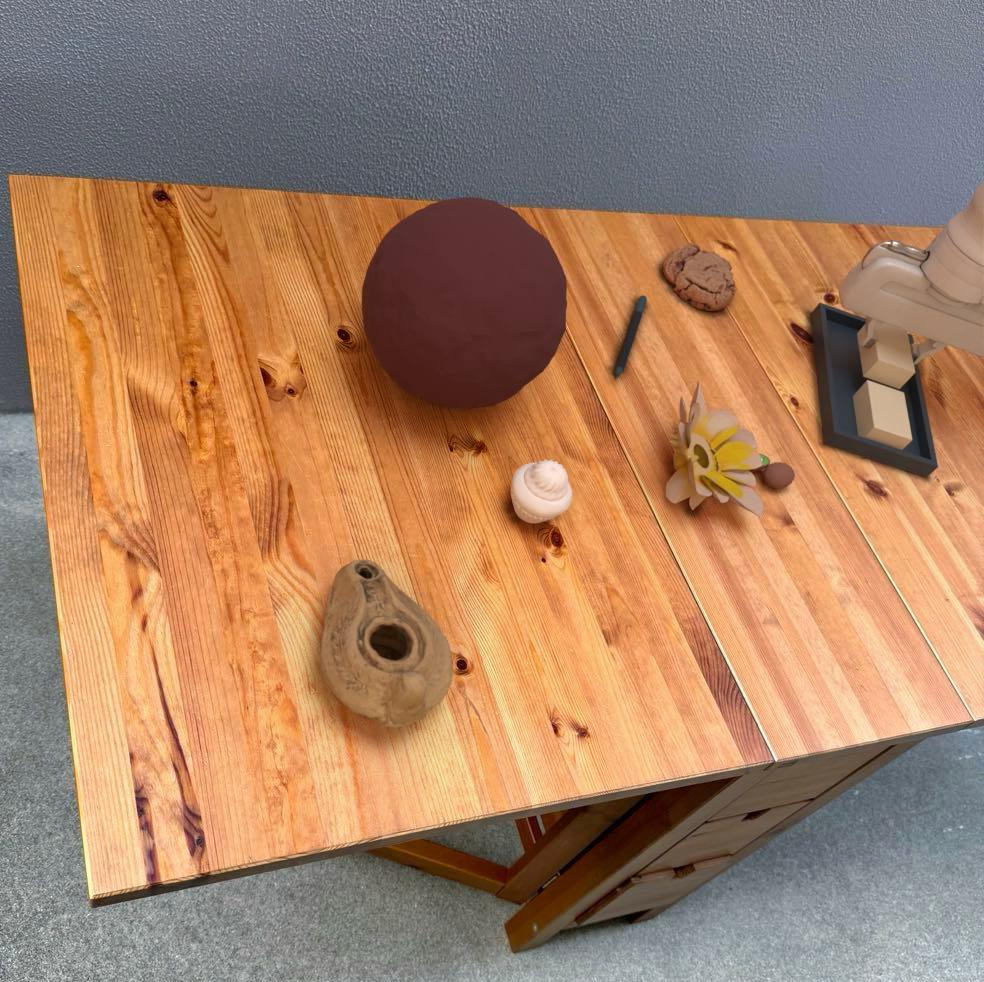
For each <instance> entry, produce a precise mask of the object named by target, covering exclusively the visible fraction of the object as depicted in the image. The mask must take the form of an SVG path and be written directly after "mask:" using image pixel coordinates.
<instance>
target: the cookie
mask: <svg viewBox="0 0 984 982" xmlns="http://www.w3.org/2000/svg"><path fill="white" fill-rule="evenodd" d="M662 266H663V267H662V273H663V276H664V278H665V280H667V281H669V282H670V283H671V285H673V286H674V288H673V289H672V290H673V291H674V292H675V293H676V294H677V296H678V297H679V298H680V299H681V300H682V301H684V302H686V303H687V304H690V305H691V306H692V307H694V308H696V309H698V310H705V311H706V312H713V311H714V312H715V311H720V310H724V309H726V308H727V306H728V305H729V304H730V303H731V301H732V300H733V299H734V297H735V294H736V292H737V287H736V282H735V280H734V278H733V277H734V274H733V273H732V269H733V266H732V264H731V262H730V261H729V260H728V259H726V258H725V257H722V256H720V255H719V254H718V253H717V252H714V251H708V250H705V249H702V251H701V247H700V246H699V245H698V244H696V243H695V242H694V243H693V242H689V243H686V244H685V243H684V245H682V246H681V247H679V248H677V249H676V250H675V251H674V252H673V253H671V254H670V255H669V256H667V258H665V260H664V261H663V264H662Z"/></svg>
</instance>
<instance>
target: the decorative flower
mask: <svg viewBox="0 0 984 982" xmlns="http://www.w3.org/2000/svg"><path fill="white" fill-rule="evenodd" d="M678 411H679V412H678V413H679V421H678V428H675V429H674V430H675V432H676V433H670V434H669V435H670V436H671V438H672V439H673V440H669V443H670V444H671V445H673V446H675V447H673V448H672V450H673V451H674V454H673V459H672V462H673V464H672V465H673V469H674V470H675V472H674V473H673V475H671V477H669V480H668V481H667V482H666V486H665V497H666V499H667V500H668V501H669V502H670V503H673V504H677V503H680V502H682V501H684V500H687V499H689V503H688V505H689V506H690V509H691V510H692V511H694V510H695V509H696V508H697V507H698V506H699V505H700V504H701V503H702V502H703V501H704V500H705V499H706V498H707V497H711V496H713V497H714V498H715V499H717V500H718V502H720V503H721V504H725V503H726V502H729V500H730V501H731V502H733V503H734V504H735V505H738V506H739V507H741V509H744V510H746V511H748V512H749V513H752V514H754V515H756V516H759V517H762V516H764V511H765V504H764V502H763V499H762V497H761V496H760V495H759V494H758V493H757V492H756V491H755V490H754V489H752V488H751V487H754V486H755V485H756V484H757V480H756V477H755V475H754V474H753V473H752V471H751V470H750V469H756V468H758V467H760V466H762V458H761V456H760V454H761V453H760V452H759V451H758V449H757V447H758V444H757V441H756V438H755V436H754V433H753V432H752V431H750V430H749V429H748V428H745V427H742V426H739V425H740V421H739V420H738V418H737V417H736V416H737V415H735V413H733V412H732V411H731V410H729V409H727V408H724V407H723V408H722V407H721V408H713V409H712V410H708V406H707V403H706V401H705V397H704V394H703V390H702V385H701V383H700V380H697V383H696V387H695V390H694V393H693V395H692V399H691V402H690V406H689V411H688V418H687V410H686V403H685V400H684V397H683V395H680V398H679V410H678ZM759 453H760V454H759ZM749 486H751V487H749Z"/></svg>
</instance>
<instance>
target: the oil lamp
mask: <svg viewBox="0 0 984 982" xmlns="http://www.w3.org/2000/svg"><path fill="white" fill-rule="evenodd" d="M319 642H320V643H319V649H318V662H319V663H318V664H319V667H320V670H321V673H322V676H323V678H324V679H325V681H326V683H327V686H328V687H329V689H330V690H331V692H332V693H333V695H334V696H335V697H336V698H337V700H339V701H340V703H342V704H343V705H344V706H345V707H346V708H347V709H348V710H350V712H352V713H354V714H358V715H362V716H364V717H366V718H369V719H371V720H374V721H376V722H377V723H379V724H381V725H382V726H383V727H385V728H388V729H398V728H399V729H400V728H405V727H408V726H411V725H412V724H414V723H417V722H418V721H421V720H424V719H425V718H426V714H427V713H428V712H430V711H431V710H433V709H434V708H435V707H436V706H438V705H439V704H440V703H441V702H442V701H443V700H444V699H445V697H446V695H447V693H448V691H449V689H450V687H451V684H452V682H453V678H454V677H453V676H454V670H453V658H452V652H451V646H450V644H449V640H448V639H447V636H445V634H444V632H443V630H442V629H441V626H439V624H438V623H437V622H436V620H435V619H434V618H433V617H432V616H431V615H430V614H429V613H428V612H427V611H426V610H425V609H423V608H422V606H421V605H419V603H417V602H416V601H415V600H414V598H412V597H410V596H409V595H408V594H407V593H406V592H404V591H403V590H402V589H401V588H400V587H399V586H398V585H397V584H395V582H393V580H392V579H391V578H390V577H389V576H388V575H387V573H386V572H385V570H384V569H383V567H381V566H380V565H379V564H378V563H376V562H374V561H372V560H370V559H355V560H353V561H351V562H349V563H347V564H345V565H343V566H342V567H341V568H340V569H339V570H338V571H337V572H336V573H335V576H334V578H333V581H332V583H331V587H330V590H329V594H328V599H327V603H326V609H325V615H324V620H323V626H322V631H321V636H320V641H319Z"/></svg>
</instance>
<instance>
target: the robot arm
mask: <svg viewBox="0 0 984 982" xmlns="http://www.w3.org/2000/svg"><path fill="white" fill-rule="evenodd" d="M838 296H839V301H840V306H841V307H842V308H843V309H844V310H847V311H849V312H853V313H856V314H858V315H860V316H864V317H865V319H866V324H865V329H864V330H863V331H862V332H861V334H860V335H859V336H858V345H859V346H862V347H865V348H868V349H870V348H871V347H872V345H874V344H875V343H876V342H877V341H878V337H877V331H876V330H874V326H875V327H880V326H881V325H882V323H886V324H889V325H892V326H895V327H898V328H900V329H903V330H906V331H907V332H909V333H912V334H915V335H918V336H921V337H923V338H926V340H925V341H923V342H921V343H919V344H916V343H914V344H913V343H912V344H911V345H910V349H911V354H912V358H913V363H914V365H917V364H918V365H919V363H920V362H921V361H922V360H923V359H924V358H925V357H929V356H931V355H933V354H936V353H938V352H941V351H943V350H944V349H945V348H946V347H947V346H948V347H952V348H954V349H957V350H960V351H962V352H966V353H968V354H970V355H974V356H977V357H980V358H983V357H984V179H983V180H982V181H981V183H980V184H979V185H978V186H977V187H976V189H975V190H974V192H973V194H972V197H971V199H970V200H969V202H968V204H967V205H966V206H965V207H964V208H963V209H962V210H961V211H960V212H958V213H956V214H955V215H954V216H953V217H951V219H950V220H949V221H948V222H947V223H946V224H945V226H944V227H942V229H941V230H940V231H939V233H938V234H937V235H936V236H935V237H934V239H933V240H931V242H930V243H929V245H928V246H927V247H925V249H922V248H920V247H917V246H913V245H909V244H906V243H904V242H903V241H900V240H898V239H891V240H889V241H881V242H876V243H874V244H873V245H872V246H871V247H870V248H869V249H868V250H867V252H866V253H865V254H864V255H863V258H862V259H861V260H860V261H858V263H857V264H855V266H854V267H853V268H852V269H851V270H850V271H849V272H848V273H847V274H846V275H845V276H844V278H843V279H842V280H841V281H840V283H839V285H838Z"/></svg>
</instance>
